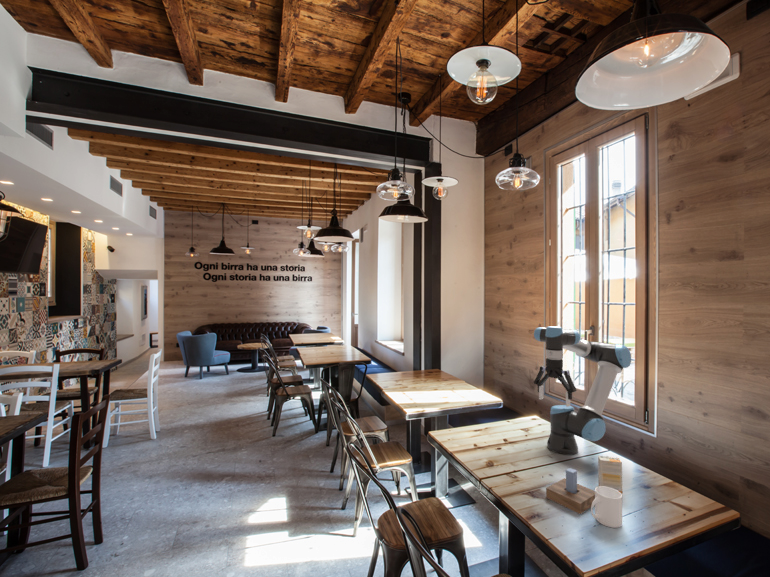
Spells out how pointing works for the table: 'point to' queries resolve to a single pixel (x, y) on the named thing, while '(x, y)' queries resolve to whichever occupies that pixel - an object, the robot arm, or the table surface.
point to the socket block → (571, 496)
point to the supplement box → (610, 472)
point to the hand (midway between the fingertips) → (554, 402)
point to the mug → (607, 506)
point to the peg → (571, 481)
